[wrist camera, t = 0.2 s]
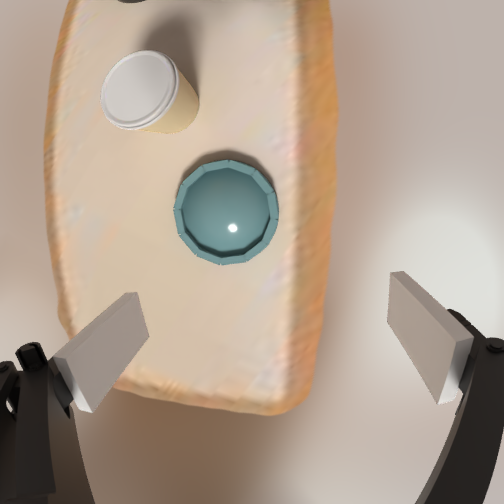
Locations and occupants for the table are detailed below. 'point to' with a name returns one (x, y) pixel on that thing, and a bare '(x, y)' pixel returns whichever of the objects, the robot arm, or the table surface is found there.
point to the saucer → (226, 212)
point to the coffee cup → (148, 94)
